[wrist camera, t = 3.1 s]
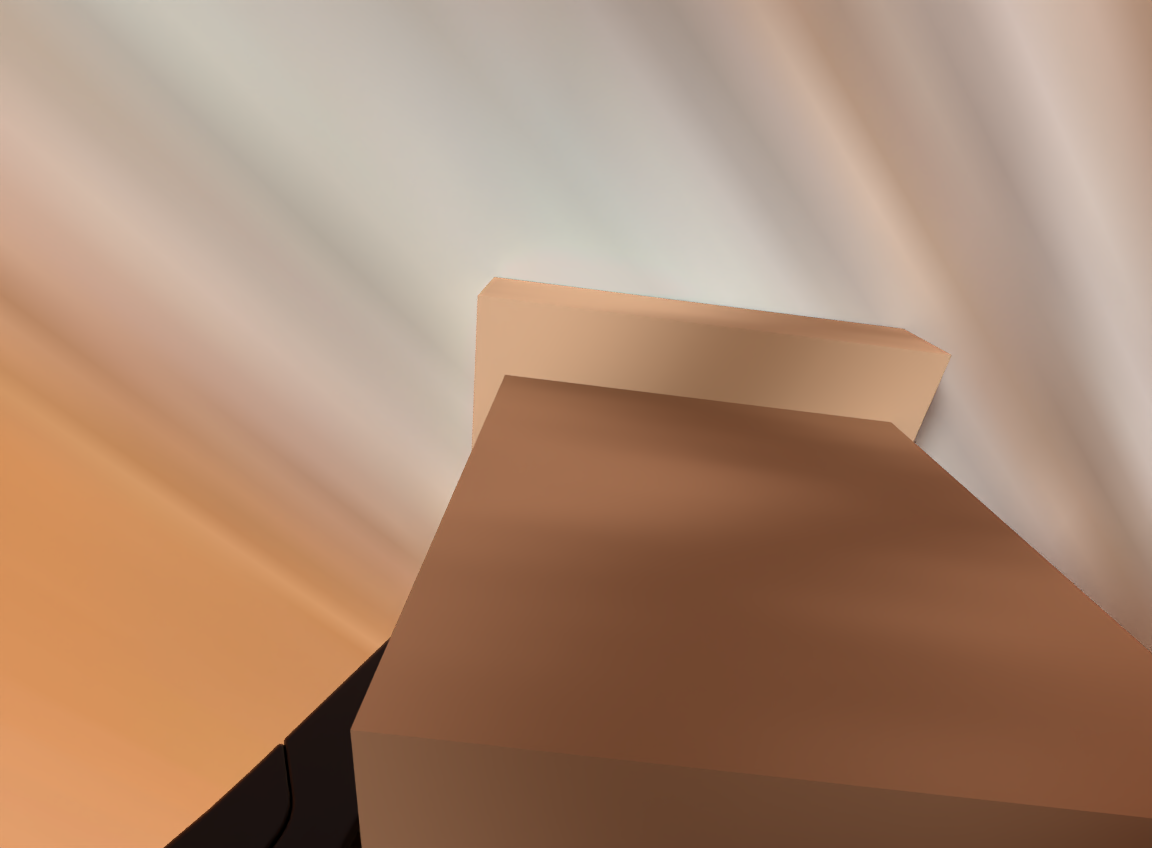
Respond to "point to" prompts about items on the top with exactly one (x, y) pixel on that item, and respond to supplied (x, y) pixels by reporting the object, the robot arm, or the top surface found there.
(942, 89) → the top surface
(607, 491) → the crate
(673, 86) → the top surface
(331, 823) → the robot arm
